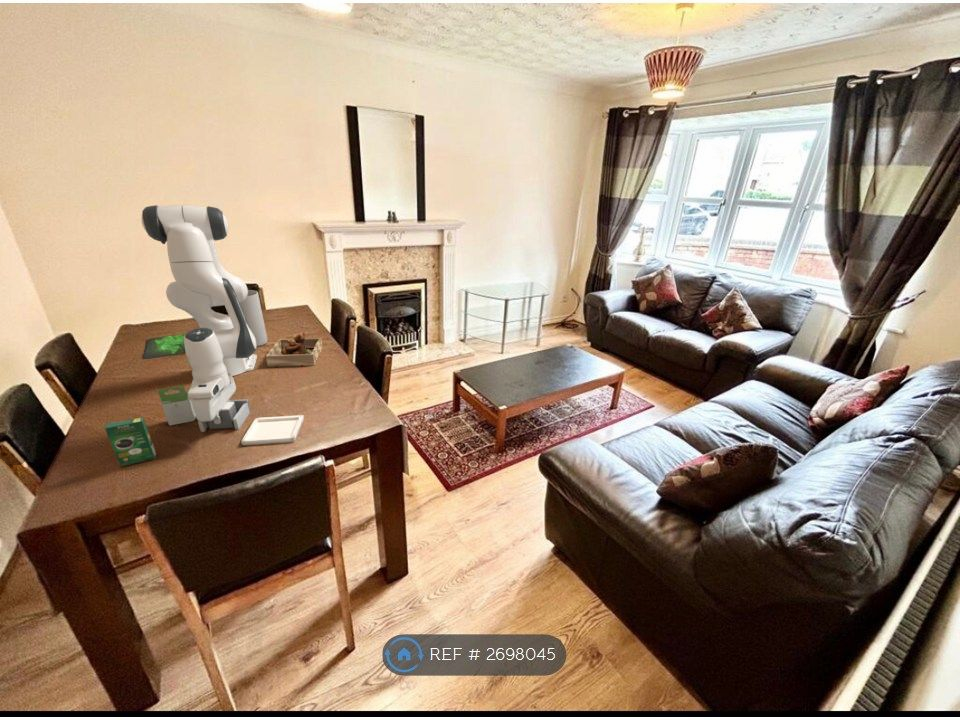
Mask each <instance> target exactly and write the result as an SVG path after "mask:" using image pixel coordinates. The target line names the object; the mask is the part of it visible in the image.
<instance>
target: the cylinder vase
mask: <svg viewBox="0 0 960 720" xmlns="http://www.w3.org/2000/svg"><path fill="white" fill-rule="evenodd" d="M239 303H240V305H241V308H242V310H243V313H244V315H245V318H246V320H247V323H248V325H249V327H250V330H251V331H252V333H253V335H254V337H255V339H256V343H257V347H256V348H259V347H261V346H265V344H267V343H268V342H269V341H268V339H269V338H268V335H267V329H266V326H265V325H266V324H265V320H264V315H263V310H262V306H261V301H260V295H259V292H258V291H257V290H252V289H248V294H247V297H246V299H245V300H244V301H242V302H239Z"/></svg>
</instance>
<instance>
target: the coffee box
mask: <svg viewBox="0 0 960 720" xmlns="http://www.w3.org/2000/svg"><path fill="white" fill-rule="evenodd" d="M104 429H105V432H106V435H107V437H108V440H109V443H110V445H111V447H112V451H113V452H114V455H115V457H116V460H117V462H118V464H119V466H120V467H125V466H131V465H135V464H137V463H143V462H146V461H151V460H155V459H156V457H157V452H156V449H155V446H154V443H153V440H152V438H151V435H150V432H149V429H148V425H147V423H146V421H145V417H144V416H139V417H134V418H130V419H124V420H117V421H111V422H107V423H106V425H105V427H104Z"/></svg>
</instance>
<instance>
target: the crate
mask: <svg viewBox="0 0 960 720" xmlns="http://www.w3.org/2000/svg"><path fill="white" fill-rule="evenodd" d="M288 340H289V341H290V340H294V339H293V338H279V339H278V340H277V341H276V342H275V344H274V345H273V346H272V347H271V348H270V350H269V351H268V353H266V356H265V361H266V365H267V368H268V367H269V368H273V367H274V368H275V366H278V367H297V366H298V367H300V366H301V365H303V366H315V365H316V362H317V361H316V360H318V359H317V358H319V357H318V356H320V355H321V352H322V350H323V348H324V347H323V340H322V337H311V338H308V337H307V338H306V337H305V340H304V344H305V348H314V349H312V350H311V351H312V353H311V354H293V355H282V354H281V351H282V349H284V348H285V347H286V346H287V345H289V343H288ZM322 347H323V348H322ZM321 349H322V350H321ZM279 353H280V354H279ZM301 367H302V366H301Z"/></svg>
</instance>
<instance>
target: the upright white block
mask: <svg viewBox="0 0 960 720" xmlns="http://www.w3.org/2000/svg"><path fill="white" fill-rule="evenodd" d="M236 414H237V411H236V407H235V404H234V402H226V404H225V405H224V406H223V407H222V409H221V410H220V411H219V416H220V417H222V422H221V423H220V424H215V423H214V420H212V421H207V422H208V425H209V427H208V429H209V430H212V429H213V430H214V429H230V428H235V426H234V422H233V418H234V417H235V415H236Z"/></svg>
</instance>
